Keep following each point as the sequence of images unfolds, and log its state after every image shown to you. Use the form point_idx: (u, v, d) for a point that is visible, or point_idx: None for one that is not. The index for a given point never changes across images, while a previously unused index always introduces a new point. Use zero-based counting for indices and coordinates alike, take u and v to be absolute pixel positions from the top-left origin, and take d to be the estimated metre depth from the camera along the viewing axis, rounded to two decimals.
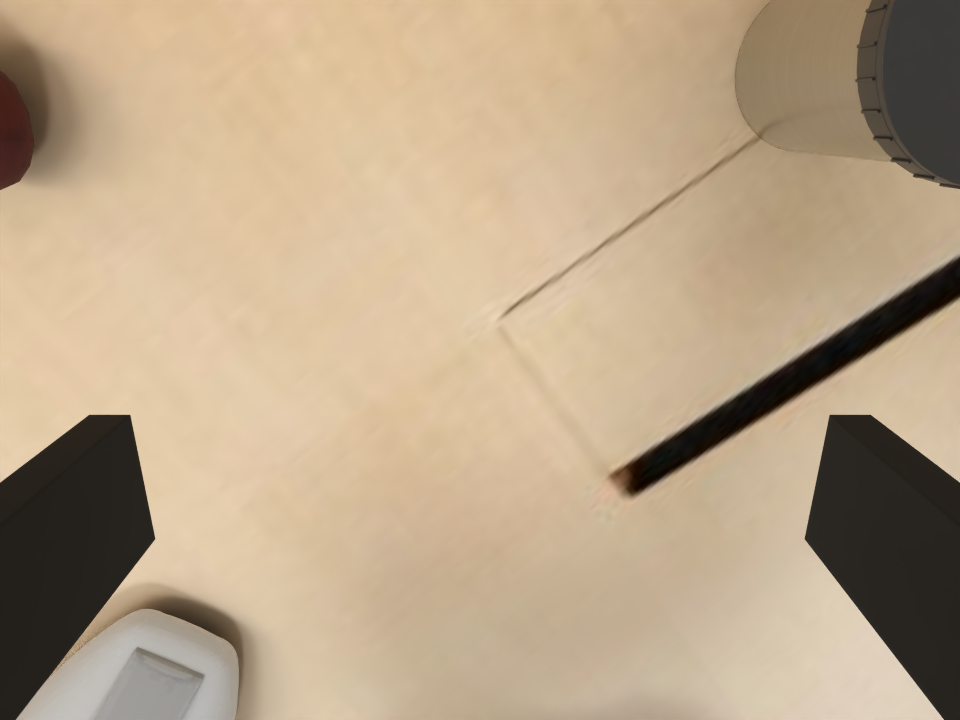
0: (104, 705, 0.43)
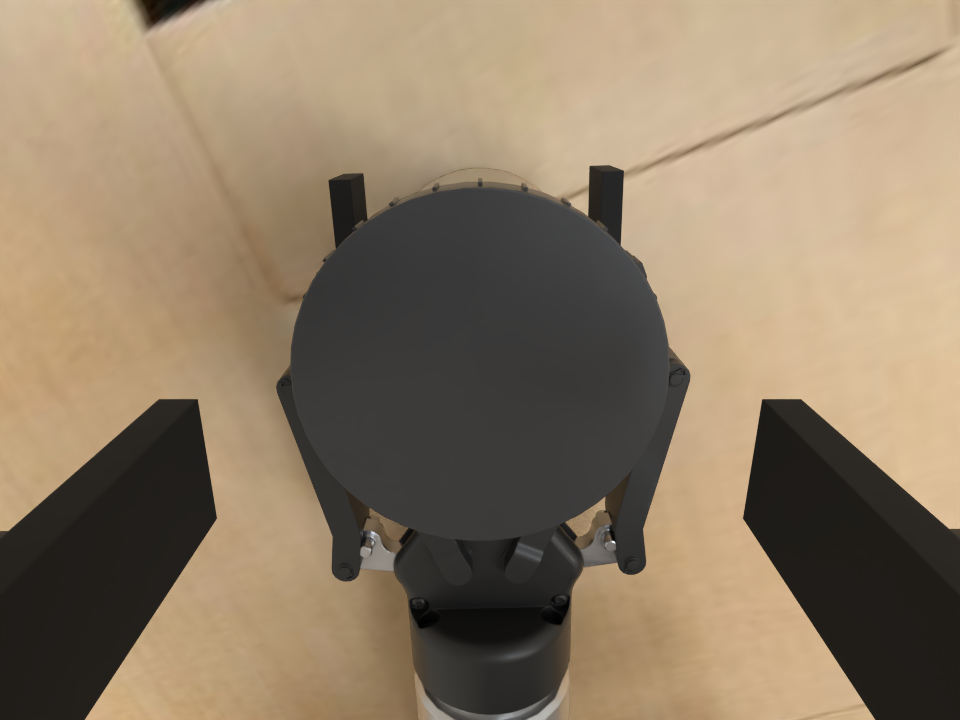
0: None
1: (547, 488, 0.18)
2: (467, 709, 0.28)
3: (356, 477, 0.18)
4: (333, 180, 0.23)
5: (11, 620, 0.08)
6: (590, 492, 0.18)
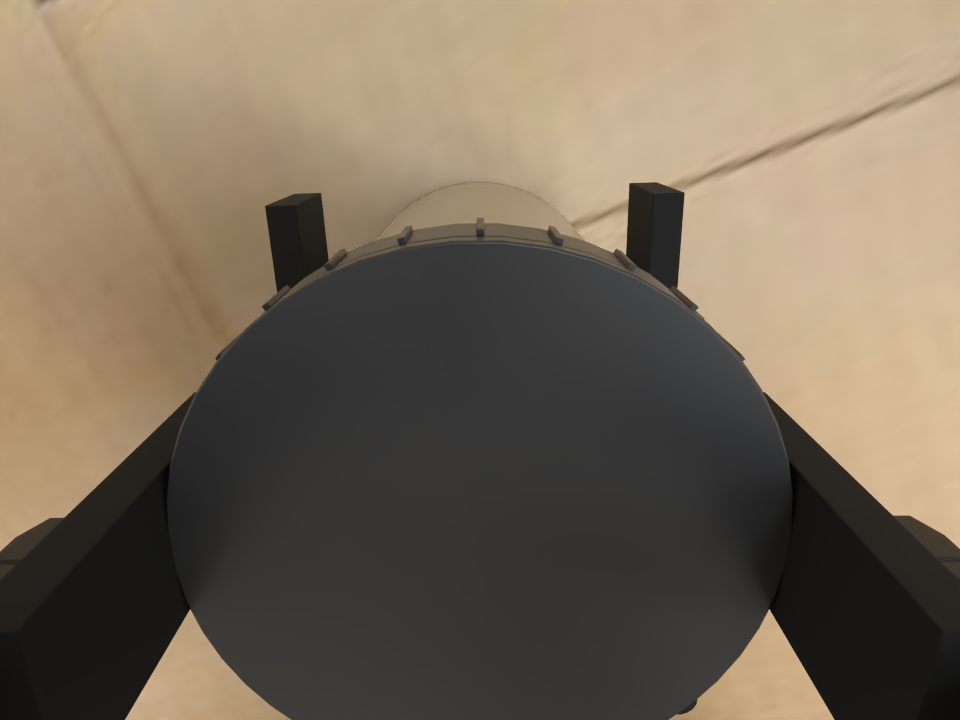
0: None
1: (586, 703, 0.12)
2: None
3: (284, 687, 0.11)
4: (272, 206, 0.16)
5: (76, 599, 0.08)
6: (654, 708, 0.12)
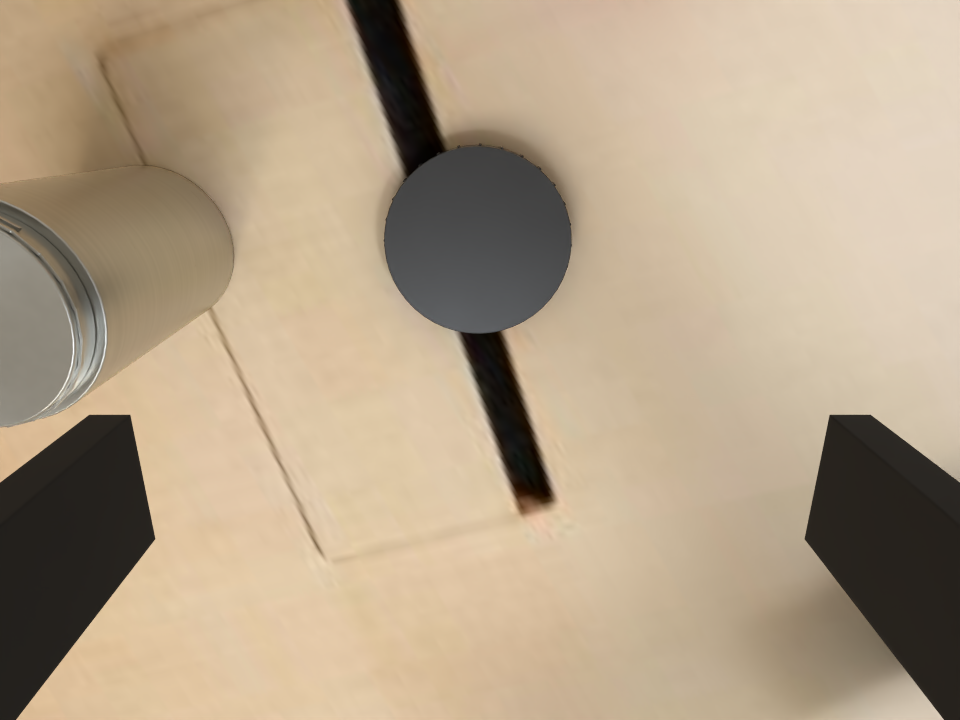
0: None
1: (426, 290, 0.36)
2: None
3: (410, 190, 0.34)
4: None
5: None
6: (429, 311, 0.36)
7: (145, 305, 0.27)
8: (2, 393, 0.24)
